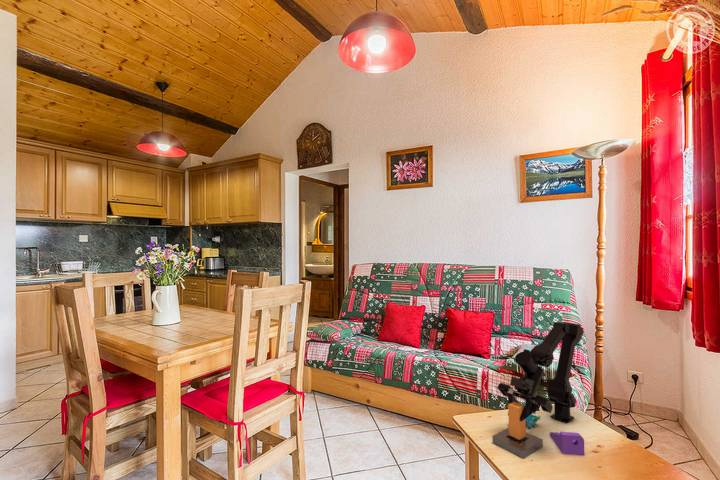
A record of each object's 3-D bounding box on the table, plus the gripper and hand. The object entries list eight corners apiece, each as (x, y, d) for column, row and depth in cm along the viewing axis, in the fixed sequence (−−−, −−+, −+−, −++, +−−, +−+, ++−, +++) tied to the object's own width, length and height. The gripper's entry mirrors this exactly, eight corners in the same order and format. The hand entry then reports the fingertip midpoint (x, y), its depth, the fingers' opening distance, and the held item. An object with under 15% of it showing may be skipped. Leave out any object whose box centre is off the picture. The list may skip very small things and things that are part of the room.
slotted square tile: (511, 432, 139) (511, 425, 139) (542, 446, 129) (542, 439, 129) (492, 442, 132) (492, 436, 132) (523, 458, 123) (523, 451, 123)
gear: (509, 423, 143) (511, 398, 149) (507, 428, 147) (509, 403, 153) (540, 431, 139) (541, 405, 145) (538, 436, 143) (538, 410, 150)
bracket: (584, 456, 124) (584, 436, 124) (562, 454, 125) (562, 434, 125) (569, 437, 136) (569, 418, 136) (550, 436, 137) (549, 417, 137)
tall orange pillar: (515, 431, 134) (514, 401, 134) (525, 436, 130) (525, 405, 130) (509, 434, 131) (508, 404, 131) (519, 439, 128) (518, 408, 128)
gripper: (499, 361, 141) (482, 397, 135) (547, 375, 125) (530, 417, 119) (511, 376, 145) (495, 412, 139) (559, 392, 130) (543, 433, 124)
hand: (514, 418), depth 130 cm, fingers closed on tall orange pillar, 4 cm apart
